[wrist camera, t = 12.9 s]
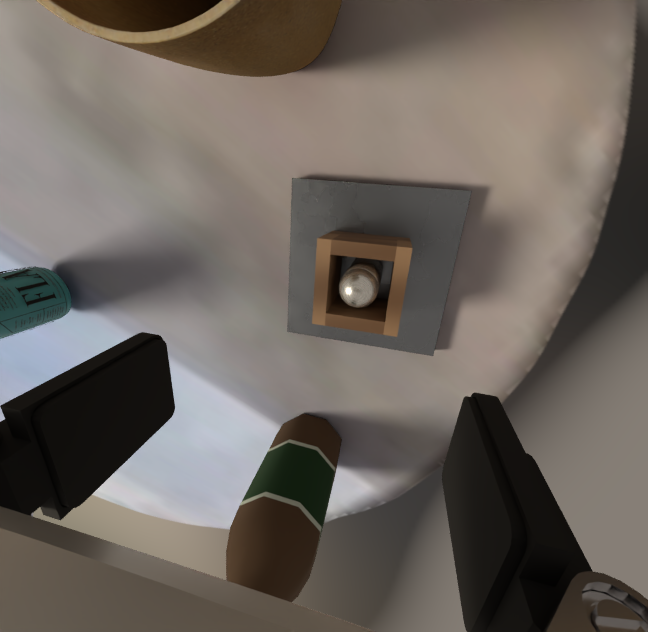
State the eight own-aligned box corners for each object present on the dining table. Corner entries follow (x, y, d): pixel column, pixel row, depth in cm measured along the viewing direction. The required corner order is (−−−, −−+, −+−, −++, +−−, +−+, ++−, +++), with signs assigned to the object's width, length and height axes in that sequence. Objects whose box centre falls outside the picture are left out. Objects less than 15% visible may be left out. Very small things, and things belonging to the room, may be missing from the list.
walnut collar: (333, 230, 26) (317, 238, 21) (409, 238, 25) (412, 248, 20) (327, 301, 28) (312, 323, 23) (397, 311, 27) (397, 336, 22)
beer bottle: (270, 440, 38) (95, 769, 16) (298, 399, 35) (127, 739, 13) (323, 474, 38) (219, 849, 16) (356, 436, 35) (283, 840, 13)
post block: (296, 178, 26) (257, 171, 19) (468, 191, 24) (498, 187, 17) (291, 327, 32) (258, 365, 24) (431, 350, 29) (442, 400, 22)
